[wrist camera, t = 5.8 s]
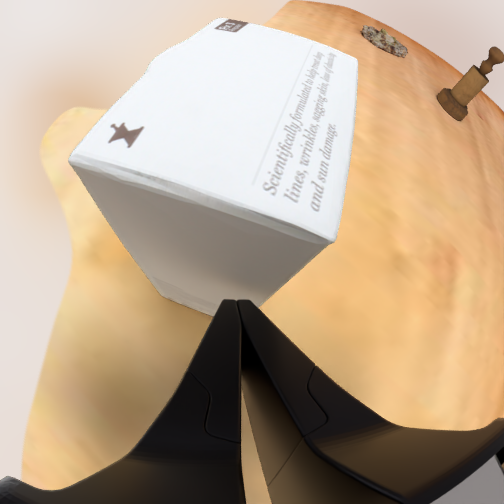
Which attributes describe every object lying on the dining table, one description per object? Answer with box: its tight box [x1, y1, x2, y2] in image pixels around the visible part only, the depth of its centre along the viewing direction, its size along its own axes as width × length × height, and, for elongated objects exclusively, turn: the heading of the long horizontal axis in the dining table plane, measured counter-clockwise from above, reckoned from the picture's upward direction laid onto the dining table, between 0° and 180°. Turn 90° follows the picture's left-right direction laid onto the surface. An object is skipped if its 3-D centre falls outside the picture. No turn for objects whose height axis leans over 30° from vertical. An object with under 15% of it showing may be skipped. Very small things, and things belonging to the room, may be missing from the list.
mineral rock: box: [362, 25, 408, 57], centre depth 38 cm, size 11×4×8 cm
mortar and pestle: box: [437, 47, 504, 121], centre depth 27 cm, size 7×6×18 cm
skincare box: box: [68, 18, 358, 317], centre depth 13 cm, size 8×6×15 cm
